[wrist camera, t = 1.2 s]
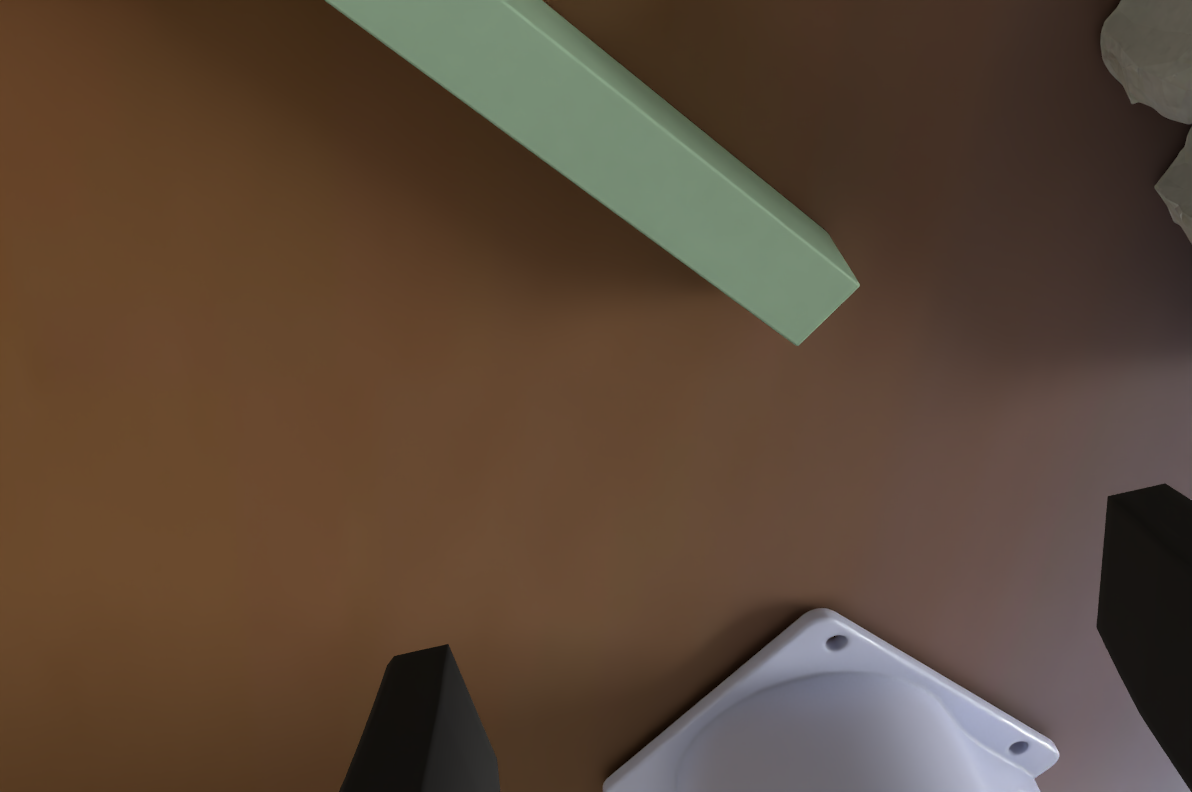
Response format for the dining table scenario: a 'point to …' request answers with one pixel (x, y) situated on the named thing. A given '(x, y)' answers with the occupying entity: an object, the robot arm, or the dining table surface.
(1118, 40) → the egg carton
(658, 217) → the frame
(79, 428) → the dining table surface
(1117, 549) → the robot arm
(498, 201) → the dining table surface
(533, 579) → the dining table surface
